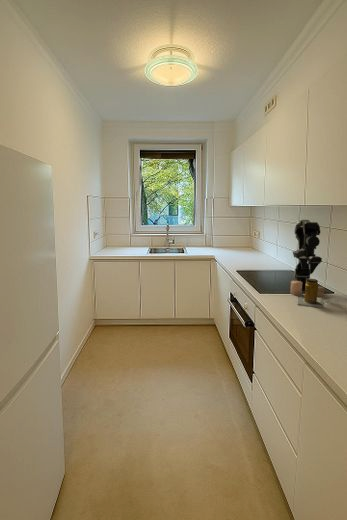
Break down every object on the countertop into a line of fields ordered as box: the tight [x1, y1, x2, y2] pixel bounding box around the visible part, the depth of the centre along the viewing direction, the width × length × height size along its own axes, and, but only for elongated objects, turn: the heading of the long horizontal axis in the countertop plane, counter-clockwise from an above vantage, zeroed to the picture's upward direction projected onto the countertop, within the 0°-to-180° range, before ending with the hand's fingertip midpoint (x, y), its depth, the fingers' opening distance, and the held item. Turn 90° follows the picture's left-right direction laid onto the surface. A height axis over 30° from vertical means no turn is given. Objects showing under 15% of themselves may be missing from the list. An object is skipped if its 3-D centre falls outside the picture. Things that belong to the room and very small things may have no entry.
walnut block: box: [317, 284, 325, 298], centre depth 175 cm, size 5×5×5 cm
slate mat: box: [297, 296, 324, 309], centre depth 161 cm, size 12×12×1 cm
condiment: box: [303, 278, 322, 304], centre depth 160 cm, size 7×8×12 cm
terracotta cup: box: [289, 280, 303, 296], centre depth 178 cm, size 6×6×7 cm
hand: (306, 271), depth 175 cm, fingers open, 9 cm apart
